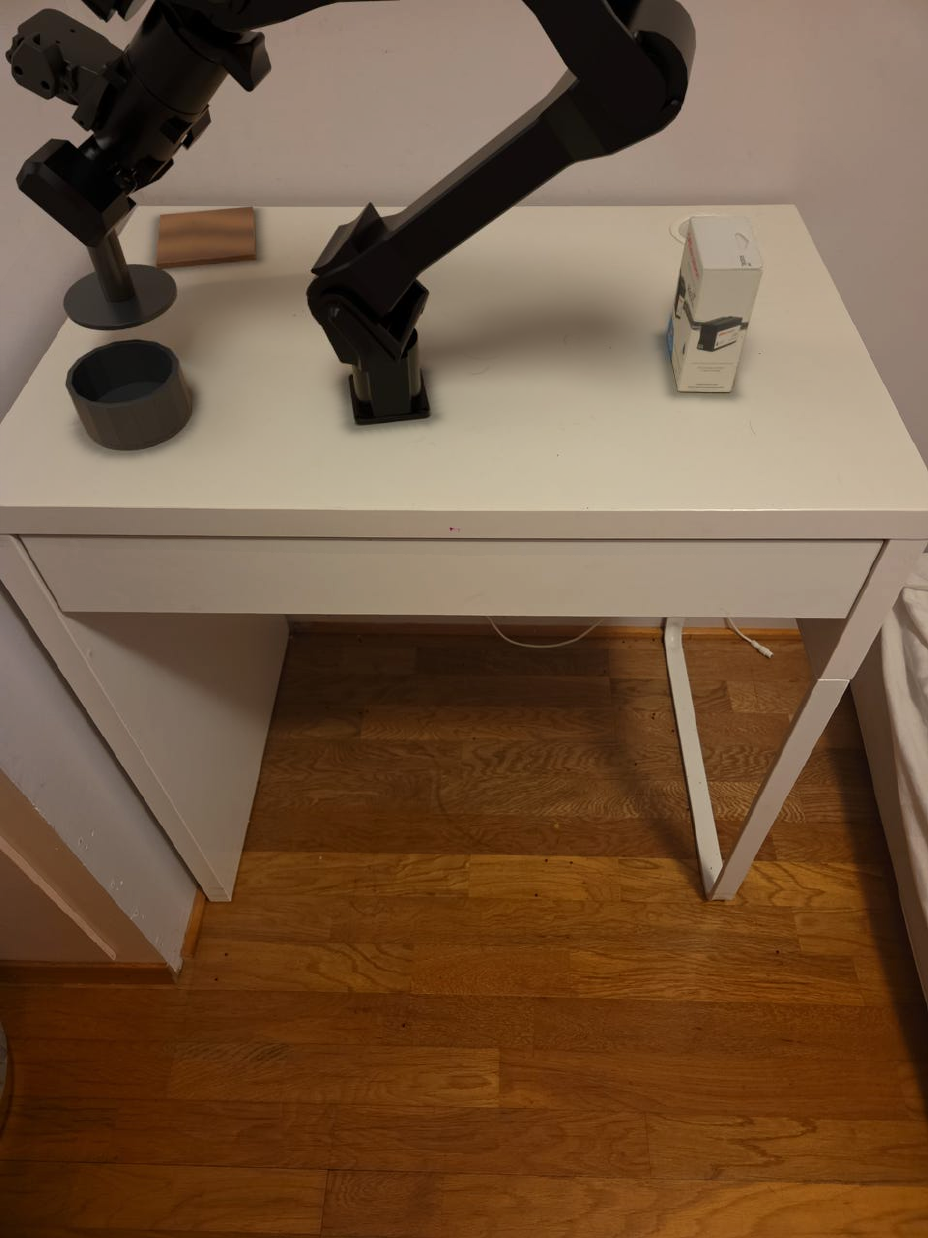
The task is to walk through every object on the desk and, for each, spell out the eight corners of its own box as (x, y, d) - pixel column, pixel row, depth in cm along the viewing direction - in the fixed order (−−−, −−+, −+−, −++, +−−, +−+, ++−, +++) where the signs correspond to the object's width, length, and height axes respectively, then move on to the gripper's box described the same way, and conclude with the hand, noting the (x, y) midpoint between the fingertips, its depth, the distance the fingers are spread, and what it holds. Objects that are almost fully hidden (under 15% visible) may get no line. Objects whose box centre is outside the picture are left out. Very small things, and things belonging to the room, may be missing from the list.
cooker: (190, 443, 75) (176, 399, 71) (79, 456, 74) (59, 412, 70) (192, 377, 80) (179, 334, 77) (89, 388, 79) (71, 345, 76)
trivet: (255, 259, 92) (254, 253, 92) (157, 268, 91) (155, 263, 91) (254, 211, 98) (253, 205, 98) (161, 219, 97) (160, 214, 97)
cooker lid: (155, 341, 74) (116, 223, 66) (48, 331, 75) (-3, 213, 67) (195, 279, 79) (163, 163, 71) (95, 271, 80) (53, 155, 72)
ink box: (664, 335, 83) (688, 212, 74) (718, 336, 83) (748, 212, 74) (675, 393, 78) (702, 268, 69) (732, 394, 78) (766, 268, 69)
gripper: (129, -74, 63) (47, 84, 73) (-20, 23, 52) (-92, 193, 62) (256, 60, 68) (162, 190, 78) (145, 175, 57) (53, 309, 67)
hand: (78, 216), depth 71 cm, fingers closed on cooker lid, 2 cm apart
